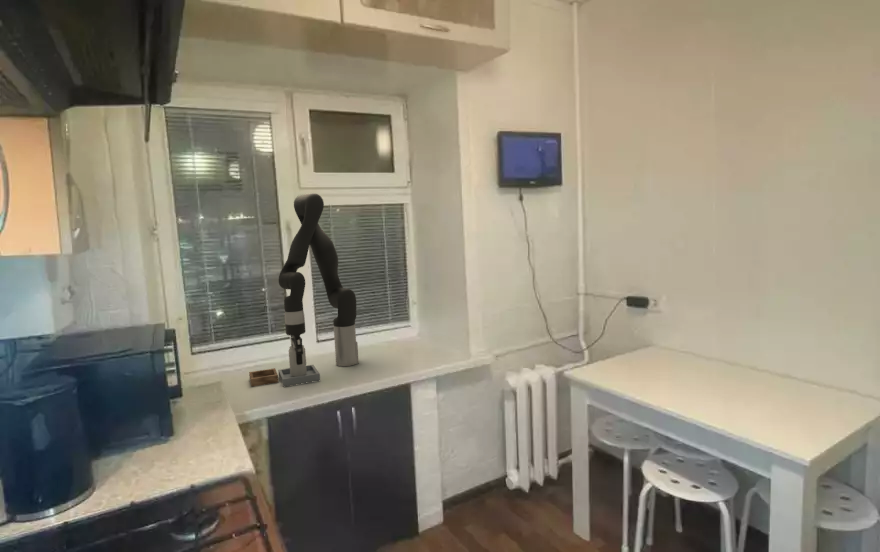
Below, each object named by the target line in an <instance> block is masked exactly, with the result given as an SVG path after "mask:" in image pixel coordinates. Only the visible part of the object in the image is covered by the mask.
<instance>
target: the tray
mask: <svg viewBox="0 0 880 552" xmlns="http://www.w3.org/2000/svg"><path fill="white" fill-rule="evenodd" d="M306 369H307V373H306V374H305V375H303V376H297V377H293V376H291V375H290V367H288V368H282V369H281V368H280V369H278V379H279V380H280V383H281V385H282V387H283V388H285V387H284V386H287V387H291V386H290V385H293V386H297V385H296V384H299V385H302V384H301V383H305V384H307V383H306V382H311V383H313V382H312V381H317V382H320V381H321V373H320V372H319V370H318V369H317V368H316V367H315V365H314V364H308V365H307V364H306ZM319 380H320V381H319Z"/></svg>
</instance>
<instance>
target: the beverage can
mask: <svg viewBox="0 0 880 552" xmlns="http://www.w3.org/2000/svg"><path fill="white" fill-rule="evenodd" d="M302 346H303V354H302V362H303V363H302V364H301V365H297V363H296V355H295V354H296V353H295V351H294V349H293V346H291V345H290V346H288V347H289V348H288V359H289V362H288V363H289V368H290V375H291V376H293V377H297V376H303V375H305V374H306V373H307V369H306V366H307V356H306V347H305V345H303V344H302ZM298 352H300V350H298Z"/></svg>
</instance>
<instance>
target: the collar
mask: <svg viewBox="0 0 880 552" xmlns="http://www.w3.org/2000/svg"><path fill="white" fill-rule="evenodd" d="M248 374H249V382H250V386H251V387H257V386H264V384H265V385H270V384H277V383H279V373H278V372H277V370H276V368H274V367H273V368H270V369H269V368H267V369H261V370H255V371H254V370H253V371H249V373H248Z"/></svg>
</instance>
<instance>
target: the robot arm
mask: <svg viewBox="0 0 880 552" xmlns="http://www.w3.org/2000/svg"><path fill="white" fill-rule="evenodd" d="M324 205H325V203H324V199H323V198H322V196H321V195H320V194H319V193H314V192H313V193H312V192H311V193H305V194H300V195H297V196H296V197H295V198H294V201H293V208H294V212H295V215H296V216H297V218H298V221H299V222H300V225H301V226H300V228H299V230H298V231H297V233H295V236H294V237H293V238H292V242H291V244H290V247H289V251H288V254H287V260H286V261H285V262H284V264H283V266H282V268H281V271H280V273H279V275H278V284H279V286H280V288H281V289H283V290H290V293H289V295H287V296H285V297H284V299H283V304H284V305H283V306H284V324H285V325H284V326H285V334H286V335H287V336H290V346H293V349H294V351H295V353H296V354H295V355H296V363H297V365H301V364H302V363H303V362H302V354H303V346H302V345H303V338H302V337H301V335H303V334H305V333H306V321H305V312H304V303H303V301H304V300H303V299H304V295H305V289H306V278H305V276H304V274H303V273H302V272H299V271H298V270H299V269H300V268H303V267H305V265H306V261H307V257H308V253H309V250H310V248H311V251H312V252H311V253H312V254H313V257H314V260H315V263H316V265H317V267H318V270H319V273H320V276H321V278H322V281H323V284H324V288H325V293H326V295H327V300H328V303H329V304H330V305H331V307H332V308H334V309H336V310H337V316H336V317H335V318H333V320H332V322H333V336H334V338H333V339H334V353H335V354H334V355H335V365H336V366H338V367H349V366H353V365H357V364H359V363H360V362H359V345H358V341H357V336H356V335H357V334H356V319H357V297H356V293H355V292H354V291H353V290H352V289H350V288H346V287H345V288H344V287H343V285H342V282H341V280H340V278H339V273H338V272H339V270H338V269H339V256H338V252H337V250H336V248H335V247H336V246H335V245H334V242H333V241H332V240H331V238H330V237H329V236H328V234H327V233H326V232H325V231H324V230H323V229H322V227H321V226H320V224H319V221H320V219H321V216H322V215H323V212H324V208H325V206H324ZM298 350H300V352H298Z"/></svg>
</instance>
